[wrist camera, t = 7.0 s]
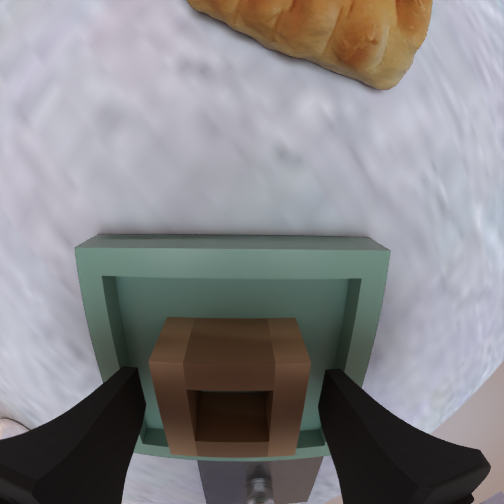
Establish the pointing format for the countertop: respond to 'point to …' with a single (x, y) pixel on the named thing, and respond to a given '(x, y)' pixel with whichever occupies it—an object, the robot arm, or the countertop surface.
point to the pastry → (334, 32)
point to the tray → (233, 305)
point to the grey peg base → (258, 481)
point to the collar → (230, 385)
